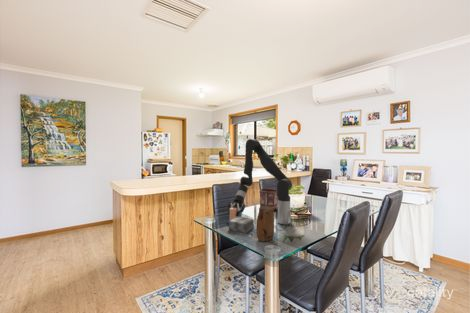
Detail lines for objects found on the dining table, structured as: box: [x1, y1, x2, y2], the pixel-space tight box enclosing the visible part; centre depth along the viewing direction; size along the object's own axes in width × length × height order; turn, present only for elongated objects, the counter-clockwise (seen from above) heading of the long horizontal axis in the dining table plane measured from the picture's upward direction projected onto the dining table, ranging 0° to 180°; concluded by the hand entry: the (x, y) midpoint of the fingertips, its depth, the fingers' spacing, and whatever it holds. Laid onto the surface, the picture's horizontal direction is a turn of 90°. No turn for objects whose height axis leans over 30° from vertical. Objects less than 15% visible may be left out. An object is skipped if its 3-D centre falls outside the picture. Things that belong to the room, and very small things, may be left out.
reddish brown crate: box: [259, 188, 278, 211], centre depth 211 cm, size 18×18×18 cm
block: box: [255, 206, 275, 242], centre depth 141 cm, size 11×8×20 cm
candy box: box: [304, 194, 313, 215], centre depth 199 cm, size 14×6×16 cm, turn 84°
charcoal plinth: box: [228, 215, 255, 234], centre depth 160 cm, size 13×13×6 cm
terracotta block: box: [229, 207, 238, 221], centre depth 175 cm, size 5×4×10 cm
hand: (232, 215), depth 173 cm, fingers open, 6 cm apart
